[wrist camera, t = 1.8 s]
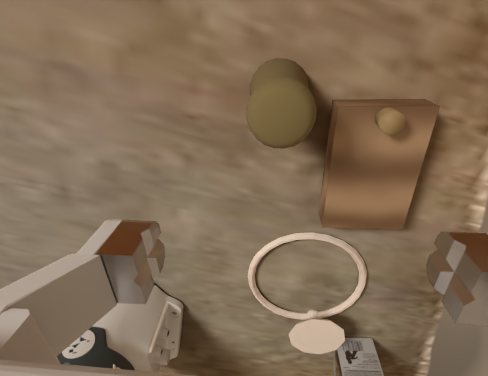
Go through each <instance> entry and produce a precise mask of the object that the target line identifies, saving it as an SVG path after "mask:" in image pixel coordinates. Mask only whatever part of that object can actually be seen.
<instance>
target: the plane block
mask: <svg viewBox="0 0 488 376" xmlns="http://www.w3.org/2000/svg"><path fill="white" fill-rule="evenodd" d="M439 108H440V106H438V105H436V104H434V103H432V102H430V101H428V100H425V99H380V100H333V101H332V109H331V117H330V125H329V134H328V142H327V150H326V158H325V167H324V175H323V183H322V191H321V199H320V208H319V216H320V220H321V224H322V227H330V228H360V229H390V230H403V226H404V223H405V220H406V216H407V213H408V210H409V207H410V203H411V200H412V197H413V193H414V190H415V187H416V184H417V180H418V177H419V174H420V170H421V167H422V164H423V160H424V157H425V154H426V151H427V147H428V144H429V141H430V137H431V134H432V131H433V128H434V124H435V121H436V118H437V114H438V111H439Z"/></svg>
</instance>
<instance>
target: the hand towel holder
mask: <svg viewBox="0 0 488 376" xmlns="http://www.w3.org/2000/svg"><path fill="white" fill-rule="evenodd" d="M302 239H316V240H322V241H328V242H330V243H332V244H335V245H337V246H340V247H341V248H342V249H344V250H345V251H346V252H348V253H349V254H350V255H351V256H352V258H353V259H354V260H355V262H356V263H357V266H358V270H359V283H358V285H357V287H356V289H355V292H354V293H353V294H352V295H351V296H350V297H349V298H348V299H347V300H345V301H344V302H342V303H341V304H339V305H338V306H335V307H333V308H330V309H327V310H324V311H317V310H314V309H312V310H309V311H308V312H294V311H288V310H285V309H282V308H280V307H277V306H275V305H273V304H272V303H270V302H269V301H267V300H266V299H265V298H264V297H263V296H262V295H261V294H260V292H259V290H258V288H257V286H256V282H255V272H256V267H257V265H258V263H259V262H260V260H261V258H262V257H263V256H264V255H265V254H266V253H267V252H269V251H270V250H271V249H272V248H274V247H276V246H278V245H280V244H282V243H286V242H290V241H294V240H302ZM366 277H367V270H366V267H365V263H364V260H363V259H362V257H361V256H360V255H359V253H358V252H357V250H355V249H354V248H353V247H351V246H350V245H349V244H347V243H346V242H345V241H342V240H340V239H338V238H335V237H333V236H330V235H326V234H320V233H314V232H308V233H294V234H290V235H286V236H283V237H280V238H278V239H276V240H274V241H272V242H270V243H268V244H267V245H265V246H264V247H263V248H262V249H261V250H260V251H259V252H258V253H257V254H256V255H255V257H254V258H253V260H252V262H251V263H250V267H249V271H248V280H249V286H250V288H251V290H252V292H253V294H254V296H255V297H256V298H257V300H258V301H259V302H260V303H261V304H262V305H263V306H264V307H266V308H268V309H269V310H271V311H273V312H274V313H276V314H279V315H282V316H285V317H288V318H294V319H300V320H304V321H301V322H298V323H297V324H296V325H295V327H294V328H293V329H292V330H291V332H290V333H289V338H290V341H291V345H293V346H294V347H296V348H298V349H299V350H301V351H302V352H306V353H314V354H323V353H327V352H331V351H334V350H337V349H338V348H339V347H340V346H341V345H342V344H343V342H344V341H345V336H344V330H343V329H342V328H340V327H339V326H338V325H336V324H335V323H333V322H332V321H330V320H328V319H320V318H326V317H329V316H332V315H335V314H337V313H340V312H342V311H343V310H345V309H346V308H348V307H350V306H351V305H352V304H353V303H354V302H355V301H356V300H357V299H358V298H359V297H360V295H361V293H362V291H363V289H364V287H365V284H366Z"/></svg>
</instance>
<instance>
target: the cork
mask: <svg viewBox="0 0 488 376" xmlns="http://www.w3.org/2000/svg"><path fill="white" fill-rule="evenodd" d="M250 95H251V97H250V100H249V102H248V105H247V117H246V119H247V122H248V125H249V129H250V130H251V132H252V133H253V135H254V136H255V137H256V139H257V140H259V141H260V142H261V143H263V144H264V145H267V146H269V147H272V148H288V147H292V146H295V145H296V144H298V143H300V142H301V141H303V140H304V139H305V138H306V137H307V136H308V135H309V133H310V132H311V130H312V128H313V126H314V124H315V121H316V114H317V108H316V102H315V99H314V97H313V95H312V93H311V92H310V90H309V84H308V78H307V76H306V74H305V72H304V70H303V69H302V68H301V67H300V66H299V65H298V64H297V63H296V62H294V61H291V60H288V59H281V58H276V59H273V60H270V61H267V62H266V63H264V64H263V65H262V66H260V67H259V68H258V70H257V71H256V72H255V74H254V75H253V78H252V81H251V84H250Z"/></svg>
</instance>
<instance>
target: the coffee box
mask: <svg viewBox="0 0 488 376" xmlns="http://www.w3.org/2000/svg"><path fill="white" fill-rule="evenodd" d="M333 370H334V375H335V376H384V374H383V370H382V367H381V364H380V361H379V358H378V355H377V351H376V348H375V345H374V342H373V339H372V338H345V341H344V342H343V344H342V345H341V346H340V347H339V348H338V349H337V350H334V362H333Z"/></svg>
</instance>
